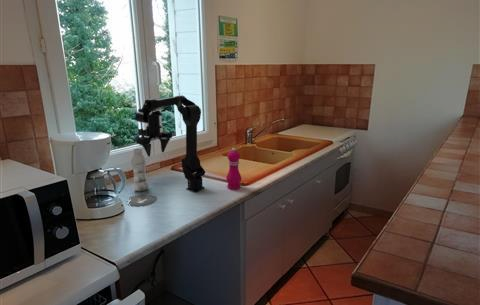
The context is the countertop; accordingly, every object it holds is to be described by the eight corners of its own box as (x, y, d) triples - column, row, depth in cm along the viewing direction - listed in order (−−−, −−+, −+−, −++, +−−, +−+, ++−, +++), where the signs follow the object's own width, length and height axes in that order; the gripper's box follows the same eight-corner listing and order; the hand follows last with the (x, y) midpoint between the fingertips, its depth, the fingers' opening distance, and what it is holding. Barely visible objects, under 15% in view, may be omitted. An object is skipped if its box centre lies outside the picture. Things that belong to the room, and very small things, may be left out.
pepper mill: (233, 183, 159) (233, 145, 154) (244, 187, 155) (244, 147, 149) (223, 187, 154) (222, 147, 148) (234, 191, 149) (234, 150, 144)
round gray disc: (163, 198, 141) (163, 198, 141) (139, 209, 131) (139, 209, 131) (143, 192, 148) (143, 191, 148) (119, 201, 138) (119, 201, 138)
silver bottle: (151, 190, 151) (148, 149, 145) (138, 194, 146) (134, 152, 140) (143, 186, 155) (140, 146, 149) (131, 190, 150) (127, 149, 145)
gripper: (157, 119, 170) (158, 148, 174) (127, 125, 155) (130, 156, 159) (172, 122, 164) (173, 151, 168) (143, 127, 149) (145, 159, 153)
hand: (156, 154), depth 162 cm, fingers open, 9 cm apart
